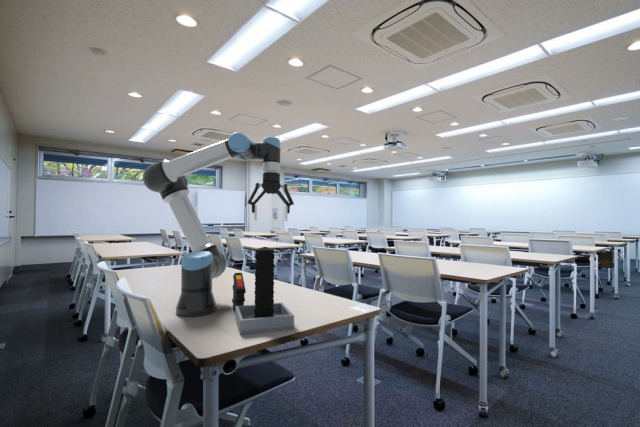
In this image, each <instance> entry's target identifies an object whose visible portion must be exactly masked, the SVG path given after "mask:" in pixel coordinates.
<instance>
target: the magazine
mask: <svg viewBox="0 0 640 427" xmlns="http://www.w3.org/2000/svg"><path fill="white" fill-rule="evenodd" d="M232 277H233V278H232V279H233V285H232V291H233V292H232V293H233V294H232V298H231V303H232V308H233V311H234V312H235V306H244V305H245V301H246V299H245V294H246V292H247V291H246V290H247V289H246V286H245V282H244V281H245V280H244V276H243V272H234V274H233V275H232Z"/></svg>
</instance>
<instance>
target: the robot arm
mask: <svg viewBox="0 0 640 427" xmlns="http://www.w3.org/2000/svg"><path fill="white" fill-rule="evenodd" d="M281 149H282V148H281V140H280V139H279V138H278V137H274V136H265V137H264V138H263V141H261V142H253V141H252V140H251V139H249V137H248V136H247V135H245V134H243V133H242V132H238V131H237V132H233V133H231V135H230V136H229V137H228V138H227V139H225V140H222V141H219V142H216V143H214V144H211V145H209V146H206V147H203V148H201V149H198V150H195V151H193V152H190V153H187V154H184V155H181V156H179V157H176V158H173V159H171V160H168V159H163V160H160V161H158V162H155V163H153V164H151V165H149V166H148V167H147V168H145V170H144V172H143V174H142V181H143V184H144V185H145V187H146V188H147V189H148V190H150V191H152V192H154V193H159V195H160V197H161V199H162V201H163V202H164V203H167V204H168V206H170V209H171V211H172V213H173V215H174V216H175V217H174V218H175V219H176V221H177V223H178V225H179V227H180V229H181V231H182V233H183V236H184V238H185V239H186V241H187V243H188V246H189V247H190V250H191V252H187V253H185V254H184V255H183V256H182V258H181V264H180V266H181V277H180V278H181V280H180V281H181V283H180V284H181V285H180V290H181V291H180V296H179V298H178V300H177V303H176V306H175V314H176V315H178V316H180V315H181V316H183V317H200V316H204V315H205V316H207V315H209V314H212V313H214V312H216V311H217V303H216V300H215V296H214V293H213V280H214V279H217V278H218V277H220V276H222V274H223V273H224V272H225V271H226V269H227V265H228V260H227V257H226V256H225V253H223V252H221V251H220V250H219V249H218V247H217V244H216V243H213V242H211V240H210V238H209V236H208V235H207V234H208V233H207V232H206V230H205V228H204V225H203V224H202V221H201V220H200V218H199V216H198V214H197V211H195V208H194V206H193V204H192V201H191V199H190V198H189V193H190V190H189V188H188V187H189V181H188V178H187V176H188V175H190V174H193V173H195V172H198V171H200V170H203V169H206V168H209V167H211V166H214V165H217V164H219V163H222V162H225V161H227V160H230V159H233V158H235V157H236V159H238V160H244V161H247V160H250V161H252V160H255V161H256V160H258V161H259V160H262V172H263V173H262V183H259V182H256V183H255V184H254V189H253V191H252V193H251V195H250V197H249V198H248V200H247V204H248V205H251V213H252V214H253V221H257V219H258V218H257V216H258V215H257V212H258V206H257V205H256V204H257V203H258V202H259V201H260V200H261V198H263V197H264V195H265V194H267V195H275V194H276V195H277V196H278V197H279V198H280V199H281V201H282V202H283V203H284V205H285V206H284V211H283V212H284V214H283V215H284V216H283V218H284V222H287V221H288V214H290V211H291V210H290V209H291V208H290V207H291V206H293V205H294V204H295V202H294V200H293V199H292V196H291V194H290V192H289V190H288V185H287V183H284V184H281V174H280V172H281ZM260 188H262V191H261V192H260V193H259V195H258V196H257V197H256V198H255V196H256V194H257V192H258V190H259V189H260ZM280 189H282V190H283V192H284V194H285V196H286V197H285V196H284V195H283V194H282V192H281V191H280ZM254 198H255V199H254ZM181 316H180V317H181Z"/></svg>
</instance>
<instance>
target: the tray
mask: <svg viewBox="0 0 640 427" xmlns="http://www.w3.org/2000/svg"><path fill="white" fill-rule="evenodd" d="M273 305H274V306H273V309H274V313H273V315H274V316H275V317H264V318H253V317H254V315H255V313H254V310H255V307H254V306H255V304H246V305H245V304H244V306H235V311H234V312H235V313H234V317H235V322H236V326H237V330H238V332H239V335H249V334H257V333H258V334H259V333H269V332H277V331H287V330H294V329H295V315H294V314H293V313H292V311H291V310H290V309H289V308H288V306H286V305H285V304H284V302H274V303H273ZM251 318H253V319H251Z"/></svg>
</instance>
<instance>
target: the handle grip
mask: <svg viewBox="0 0 640 427" xmlns="http://www.w3.org/2000/svg"><path fill="white" fill-rule="evenodd" d="M254 257H255V261H254V262H255V264H254V268H255V269H254V271H255V273H254V280H255V281H254V305H255V306H254V307H255V310H254V313H255V315H254V317H253V318H264V317H275V316H274V315H273V313H274V309H273V306H274V305H273V303H275V302H274V301H275V299H274V297H275V296H274V295H275V291H274V289H275V287H274V286H275V280H274V279H275V272H274V271H275V248H271V247H268V246H263V247H260V248H256V249H255V255H254ZM253 318H251V319H253Z"/></svg>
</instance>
